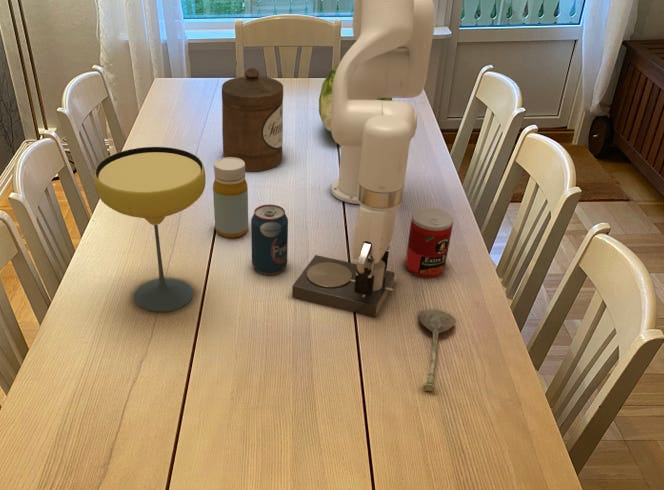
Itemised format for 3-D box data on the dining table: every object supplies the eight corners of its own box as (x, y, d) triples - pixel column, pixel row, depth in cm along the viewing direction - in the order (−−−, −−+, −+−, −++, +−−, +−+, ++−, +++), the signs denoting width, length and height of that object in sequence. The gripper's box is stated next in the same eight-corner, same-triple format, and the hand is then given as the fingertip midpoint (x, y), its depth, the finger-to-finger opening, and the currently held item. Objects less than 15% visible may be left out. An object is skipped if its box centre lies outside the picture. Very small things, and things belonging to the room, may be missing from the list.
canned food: (421, 282, 137) (429, 231, 130) (396, 262, 142) (403, 212, 135) (453, 272, 139) (462, 221, 133) (427, 253, 145) (436, 203, 138)
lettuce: (298, 142, 190) (305, 78, 176) (337, 103, 203) (346, 41, 190) (364, 167, 185) (376, 103, 171) (399, 125, 198) (413, 63, 184)
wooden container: (282, 172, 174) (283, 79, 160) (221, 171, 174) (217, 79, 161) (282, 147, 186) (283, 59, 172) (225, 147, 186) (221, 58, 172)
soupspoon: (455, 319, 129) (418, 315, 130) (457, 303, 127) (420, 299, 128) (448, 395, 112) (406, 389, 113) (451, 378, 110) (407, 372, 111)
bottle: (244, 240, 149) (242, 172, 139) (211, 237, 150) (207, 169, 140) (251, 224, 154) (250, 157, 144) (220, 221, 155) (216, 155, 146)
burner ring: (316, 259, 138) (316, 258, 138) (357, 269, 136) (357, 267, 135) (300, 281, 132) (300, 280, 132) (343, 292, 130) (343, 290, 129)
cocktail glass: (124, 268, 140) (106, 145, 124) (216, 270, 140) (210, 146, 124) (105, 323, 126) (81, 192, 110) (207, 325, 126) (198, 194, 110)
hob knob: (378, 293, 129) (381, 270, 126) (355, 288, 130) (357, 265, 127) (385, 281, 132) (388, 258, 129) (362, 276, 134) (364, 253, 131)
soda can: (280, 279, 137) (281, 222, 130) (246, 272, 139) (245, 217, 131) (291, 261, 142) (293, 206, 135) (258, 255, 144) (258, 200, 137)
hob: (292, 297, 133) (292, 285, 131) (314, 265, 141) (315, 253, 140) (382, 319, 127) (383, 306, 126) (400, 285, 136) (402, 273, 134)
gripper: (373, 168, 127) (365, 254, 138) (342, 211, 115) (335, 301, 126) (415, 176, 125) (403, 262, 136) (387, 220, 113) (376, 311, 124)
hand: (370, 280), depth 131 cm, fingers open, 8 cm apart
